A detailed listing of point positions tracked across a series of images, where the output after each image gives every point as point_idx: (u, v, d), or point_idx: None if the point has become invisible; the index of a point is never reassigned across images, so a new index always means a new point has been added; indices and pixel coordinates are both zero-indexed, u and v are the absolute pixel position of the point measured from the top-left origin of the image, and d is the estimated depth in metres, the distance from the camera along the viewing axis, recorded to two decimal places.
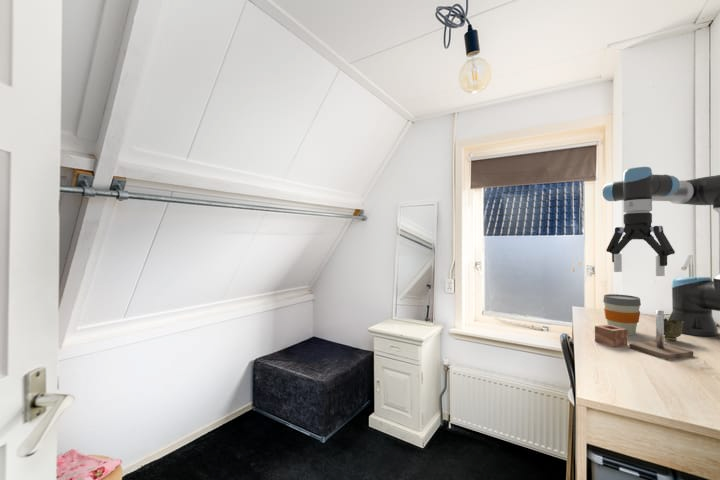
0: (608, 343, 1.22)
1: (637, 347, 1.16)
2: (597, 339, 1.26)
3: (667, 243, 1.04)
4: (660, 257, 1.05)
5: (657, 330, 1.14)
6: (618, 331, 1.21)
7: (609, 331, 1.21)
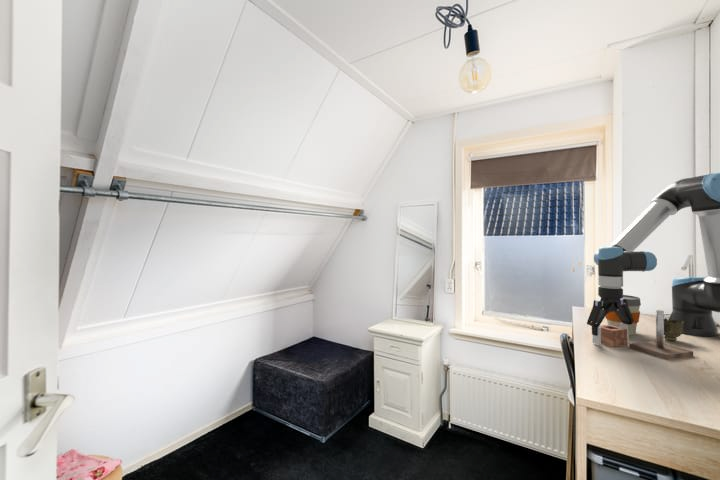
0: (608, 343, 1.22)
1: (637, 347, 1.16)
2: None
3: (592, 316, 1.22)
4: None
5: (657, 330, 1.14)
6: (618, 331, 1.21)
7: (609, 331, 1.21)
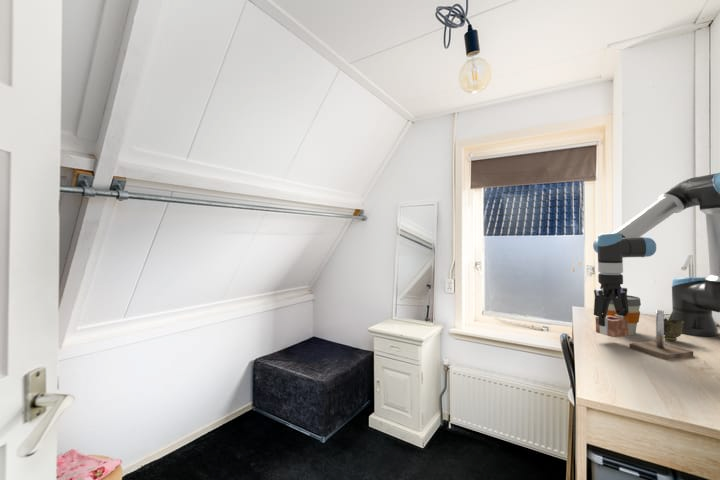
0: (609, 334, 1.21)
1: (637, 347, 1.16)
2: (598, 330, 1.26)
3: (597, 307, 1.22)
4: None
5: (657, 330, 1.14)
6: (619, 321, 1.21)
7: (610, 322, 1.21)
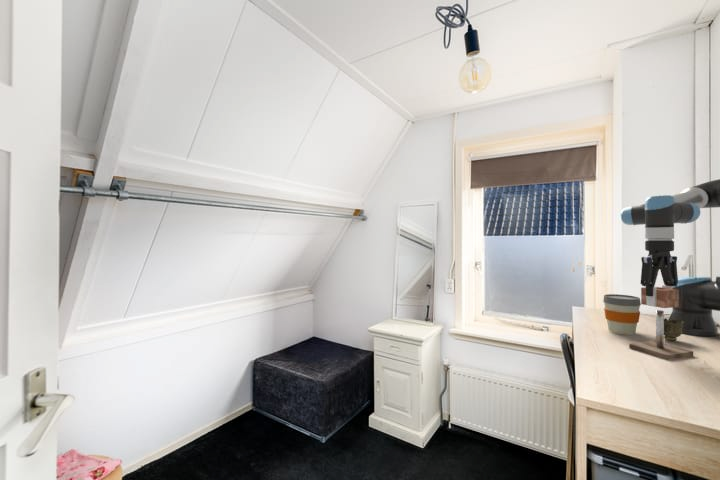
0: (658, 304, 1.11)
1: (637, 347, 1.16)
2: (644, 301, 1.16)
3: (645, 275, 1.12)
4: None
5: (657, 330, 1.14)
6: (669, 291, 1.10)
7: (659, 291, 1.11)
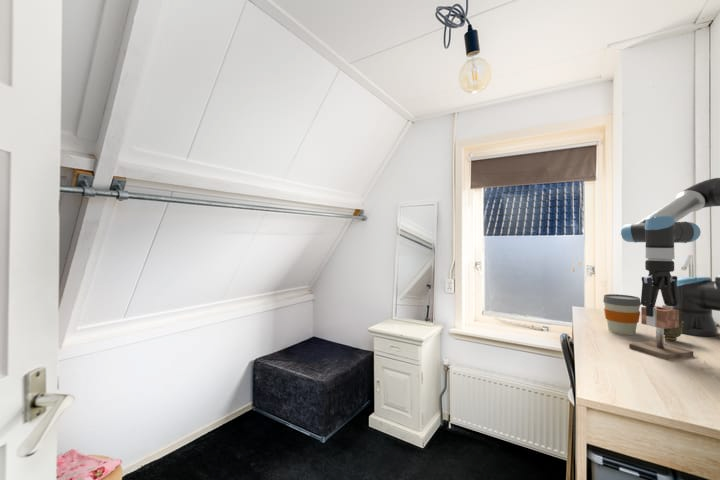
0: (658, 325, 1.11)
1: (637, 347, 1.16)
2: (644, 321, 1.16)
3: (645, 295, 1.12)
4: None
5: (657, 330, 1.14)
6: (669, 312, 1.11)
7: (659, 312, 1.11)
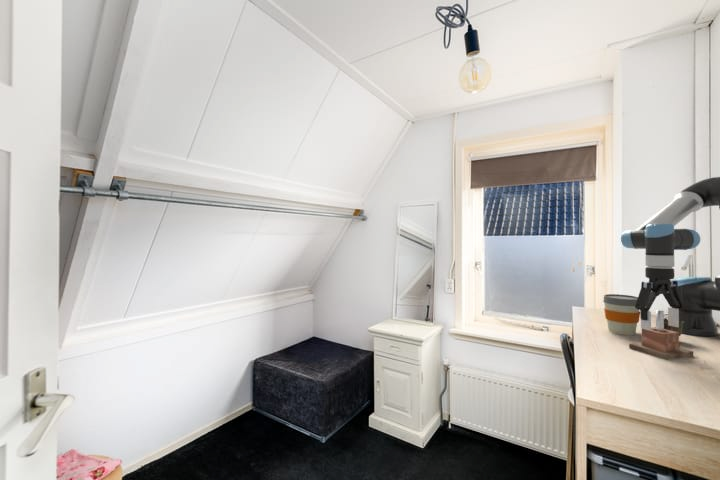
0: (658, 347, 1.12)
1: (637, 347, 1.16)
2: (645, 343, 1.16)
3: (641, 299, 1.12)
4: None
5: (657, 330, 1.14)
6: (670, 334, 1.11)
7: (660, 334, 1.11)
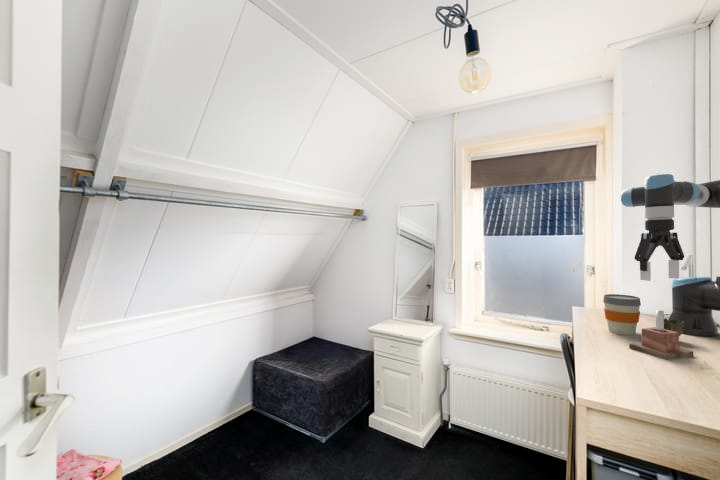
0: (658, 347, 1.12)
1: (637, 347, 1.16)
2: (645, 343, 1.16)
3: (641, 249, 1.12)
4: None
5: (657, 330, 1.14)
6: (670, 334, 1.11)
7: (660, 334, 1.11)
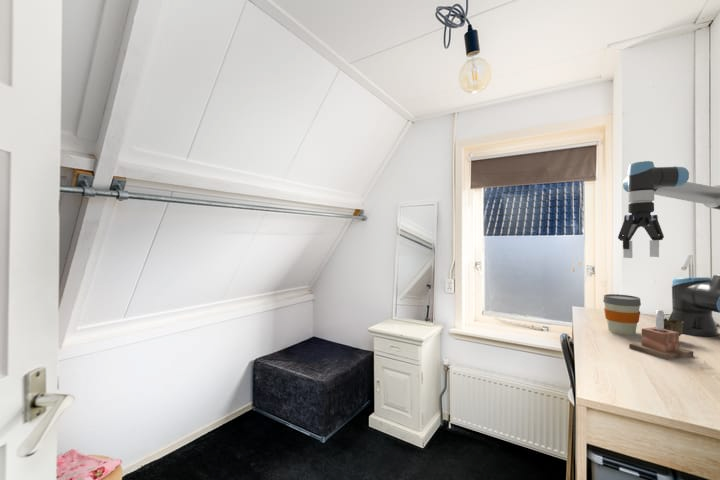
0: (658, 347, 1.12)
1: (637, 347, 1.16)
2: (645, 343, 1.16)
3: (624, 230, 1.23)
4: None
5: (657, 330, 1.14)
6: (670, 334, 1.11)
7: (660, 334, 1.11)
